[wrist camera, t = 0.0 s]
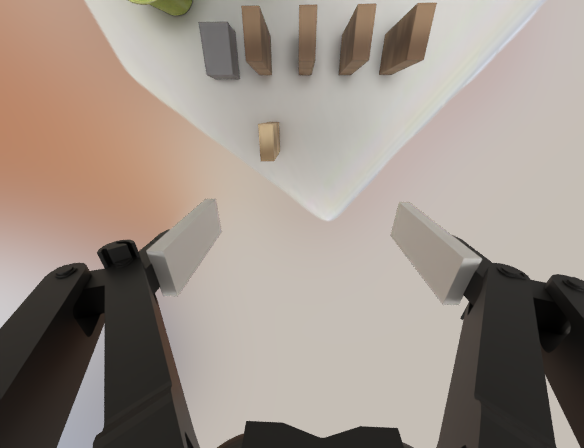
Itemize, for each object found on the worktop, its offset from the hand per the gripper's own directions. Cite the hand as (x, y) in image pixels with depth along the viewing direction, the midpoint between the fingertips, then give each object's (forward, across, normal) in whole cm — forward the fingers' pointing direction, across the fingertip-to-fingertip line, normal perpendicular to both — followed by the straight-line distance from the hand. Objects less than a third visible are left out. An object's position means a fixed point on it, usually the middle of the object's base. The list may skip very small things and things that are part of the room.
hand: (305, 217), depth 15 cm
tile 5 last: (+28, -6, +15) cm, 32 cm away
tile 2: (+28, +13, +15) cm, 34 cm away
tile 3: (+28, +7, +15) cm, 33 cm away
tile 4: (+28, 0, +15) cm, 32 cm away
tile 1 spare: (+28, -5, +3) cm, 29 cm away
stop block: (+28, -13, +15) cm, 34 cm away
